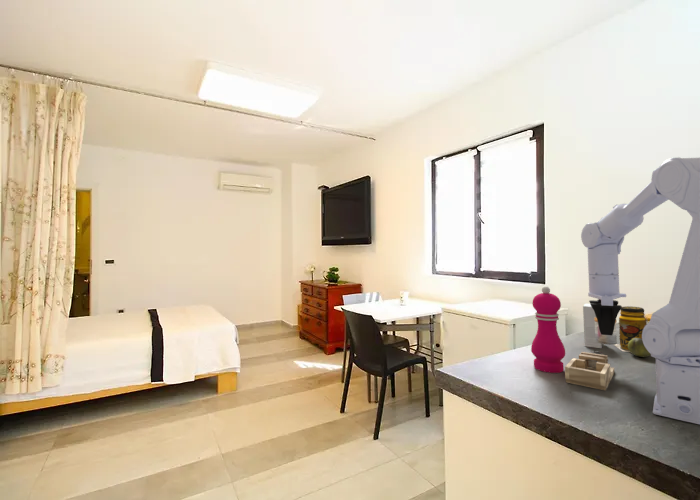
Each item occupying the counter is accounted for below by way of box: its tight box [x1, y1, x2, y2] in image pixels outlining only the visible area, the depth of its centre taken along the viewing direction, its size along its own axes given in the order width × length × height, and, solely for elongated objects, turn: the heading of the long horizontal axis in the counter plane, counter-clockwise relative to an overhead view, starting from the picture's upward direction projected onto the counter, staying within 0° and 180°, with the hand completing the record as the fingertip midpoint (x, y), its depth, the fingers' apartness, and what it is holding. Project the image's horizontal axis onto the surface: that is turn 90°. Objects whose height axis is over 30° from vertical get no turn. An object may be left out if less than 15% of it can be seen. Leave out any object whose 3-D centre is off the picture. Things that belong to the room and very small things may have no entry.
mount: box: [564, 351, 616, 391], centre depth 77 cm, size 14×7×4 cm, turn 136°
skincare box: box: [582, 303, 603, 349], centre depth 103 cm, size 6×4×12 cm
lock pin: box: [588, 350, 604, 368], centre depth 82 cm, size 8×2×2 cm, turn 136°
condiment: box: [614, 305, 648, 353], centre depth 98 cm, size 7×8×12 cm
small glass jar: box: [594, 317, 618, 346], centre depth 80 cm, size 4×4×6 cm
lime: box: [628, 338, 651, 358], centre depth 91 cm, size 4×5×5 cm
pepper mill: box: [530, 286, 566, 374], centre depth 84 cm, size 7×7×20 cm
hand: (605, 332), depth 80 cm, fingers closed on small glass jar, 4 cm apart
